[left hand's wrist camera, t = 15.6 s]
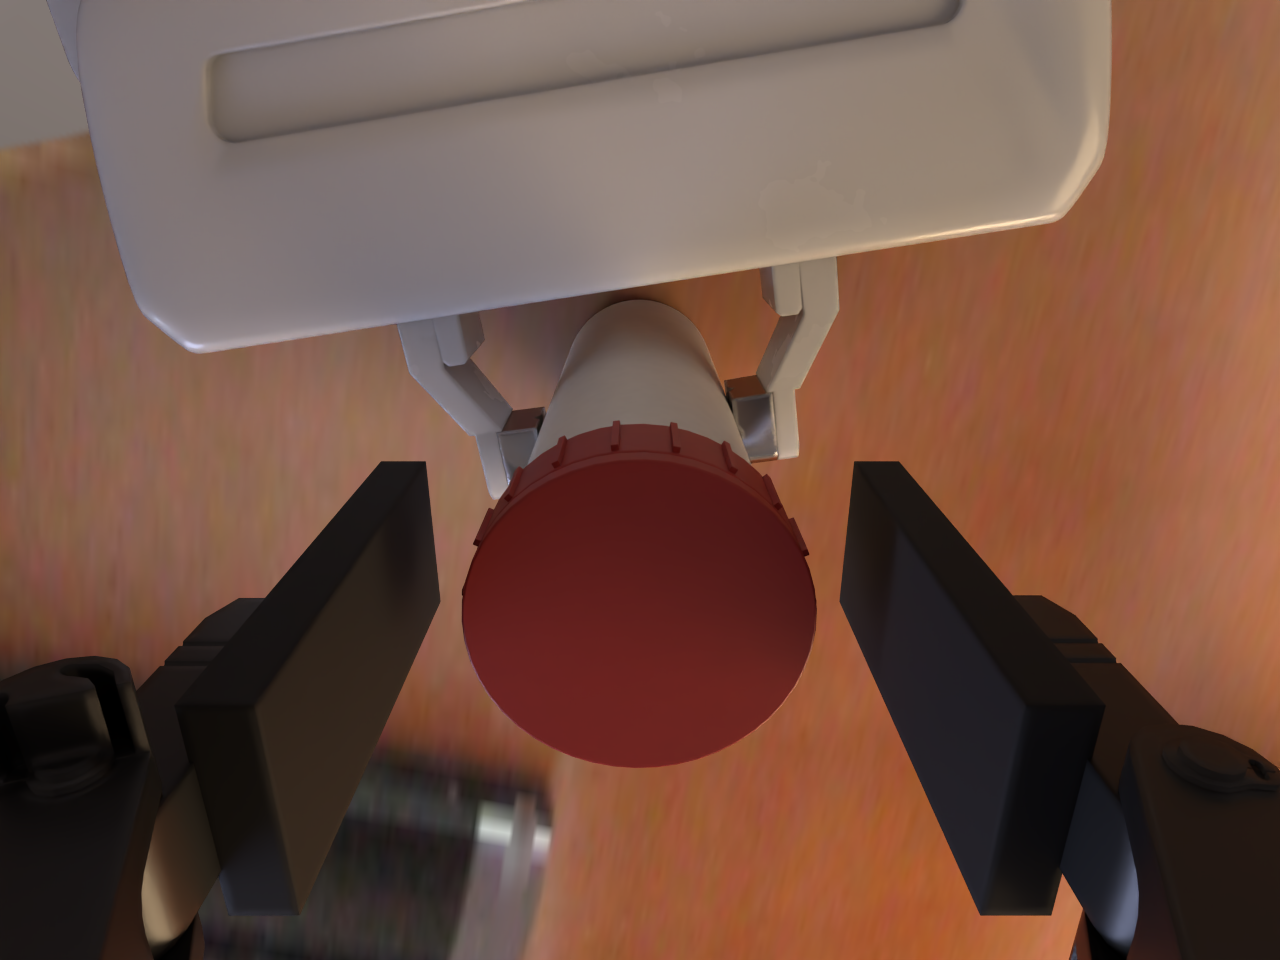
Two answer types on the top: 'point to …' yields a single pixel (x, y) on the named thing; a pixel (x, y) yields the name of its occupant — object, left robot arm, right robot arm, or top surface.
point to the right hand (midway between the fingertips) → (646, 471)
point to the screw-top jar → (639, 378)
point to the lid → (639, 597)
